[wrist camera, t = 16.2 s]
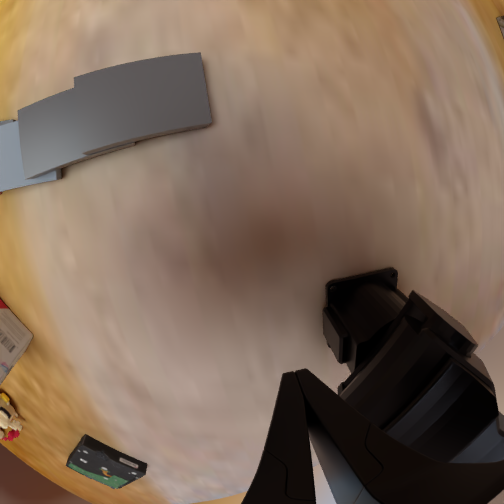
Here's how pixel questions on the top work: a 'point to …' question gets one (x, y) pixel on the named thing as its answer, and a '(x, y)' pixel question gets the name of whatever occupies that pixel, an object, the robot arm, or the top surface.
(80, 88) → the domino
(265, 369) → the top surface
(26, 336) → the ink box
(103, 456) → the disk drive
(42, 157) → the domino
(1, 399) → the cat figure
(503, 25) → the coffee box
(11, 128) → the domino
